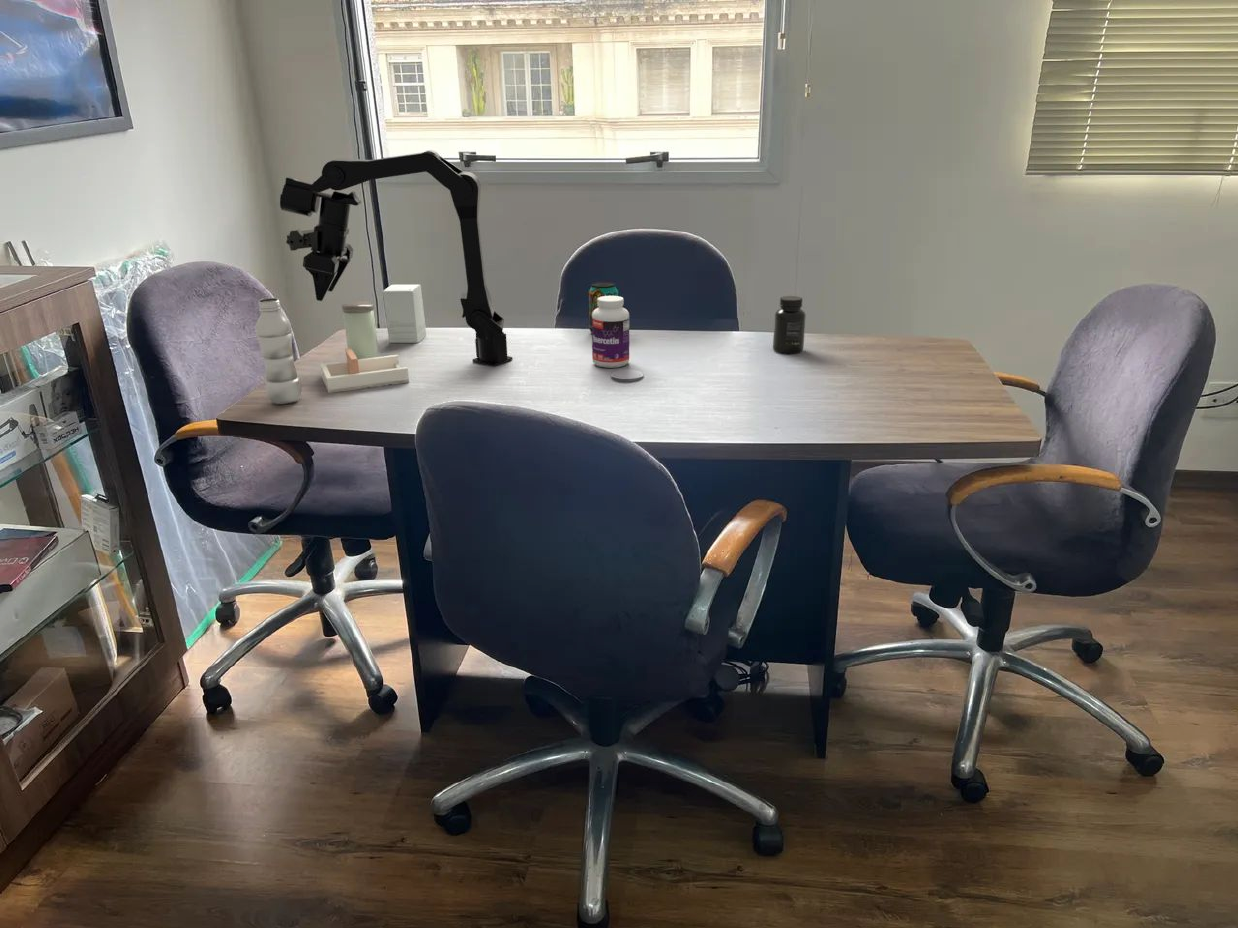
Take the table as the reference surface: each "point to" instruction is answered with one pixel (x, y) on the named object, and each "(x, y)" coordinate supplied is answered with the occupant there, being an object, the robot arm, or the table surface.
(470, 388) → the table surface
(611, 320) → the pill bottle
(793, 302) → the supplement bottle
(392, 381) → the white rectangular tray
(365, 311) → the ceramic jar
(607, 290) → the beverage can
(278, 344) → the plastic bottle
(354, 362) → the pusher paddle
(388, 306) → the supplement box
